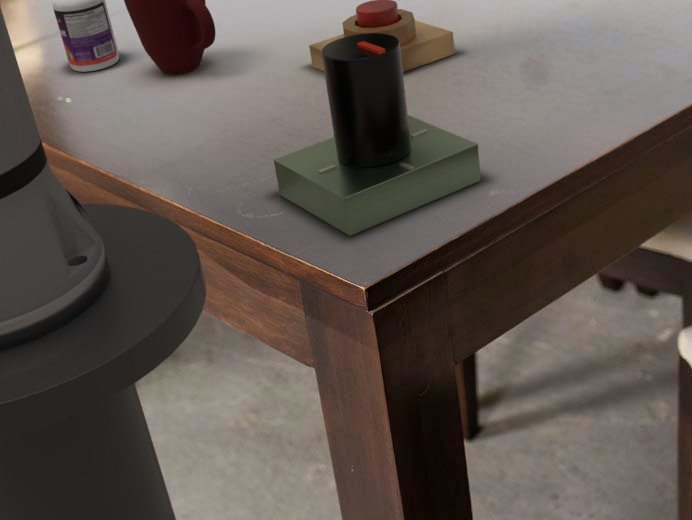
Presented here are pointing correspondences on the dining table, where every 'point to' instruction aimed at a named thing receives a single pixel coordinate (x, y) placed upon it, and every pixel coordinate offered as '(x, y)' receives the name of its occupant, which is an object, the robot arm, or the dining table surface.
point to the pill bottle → (86, 34)
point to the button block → (414, 37)
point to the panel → (377, 178)
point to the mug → (173, 32)
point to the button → (377, 13)
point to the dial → (367, 99)
